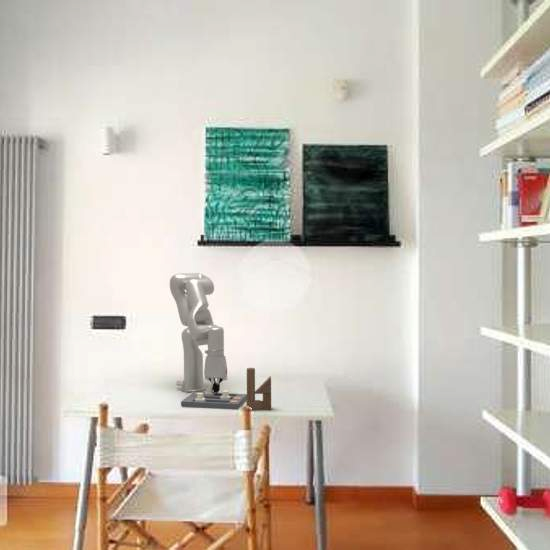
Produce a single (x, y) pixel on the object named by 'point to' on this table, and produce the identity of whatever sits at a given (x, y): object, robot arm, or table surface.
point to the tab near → (200, 398)
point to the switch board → (215, 401)
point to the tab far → (209, 391)
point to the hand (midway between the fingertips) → (216, 392)
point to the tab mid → (225, 395)
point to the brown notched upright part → (258, 392)
